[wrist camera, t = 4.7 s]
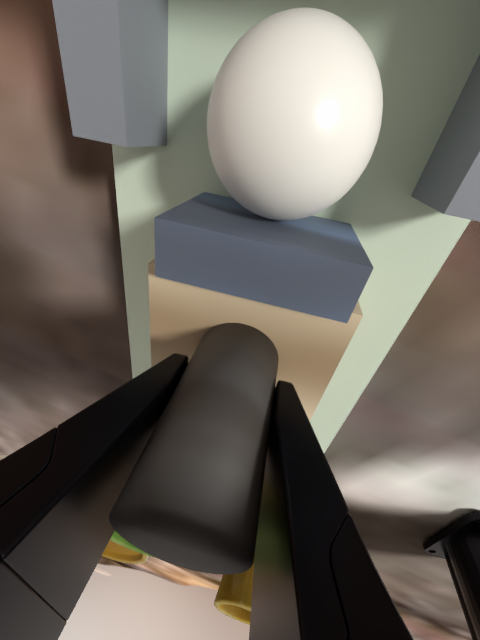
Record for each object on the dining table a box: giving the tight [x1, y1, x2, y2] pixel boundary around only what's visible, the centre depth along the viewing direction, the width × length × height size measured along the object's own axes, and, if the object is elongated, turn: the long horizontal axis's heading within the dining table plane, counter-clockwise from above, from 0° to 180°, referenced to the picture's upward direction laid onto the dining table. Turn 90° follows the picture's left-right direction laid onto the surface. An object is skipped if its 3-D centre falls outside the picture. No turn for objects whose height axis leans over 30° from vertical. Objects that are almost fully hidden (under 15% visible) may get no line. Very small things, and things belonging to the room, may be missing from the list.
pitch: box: [52, 0, 480, 453], centre depth 10 cm, size 22×12×6 cm, turn 171°
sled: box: [109, 192, 374, 574], centre depth 8 cm, size 6×6×8 cm
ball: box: [207, 7, 383, 221], centre depth 7 cm, size 4×4×4 cm
